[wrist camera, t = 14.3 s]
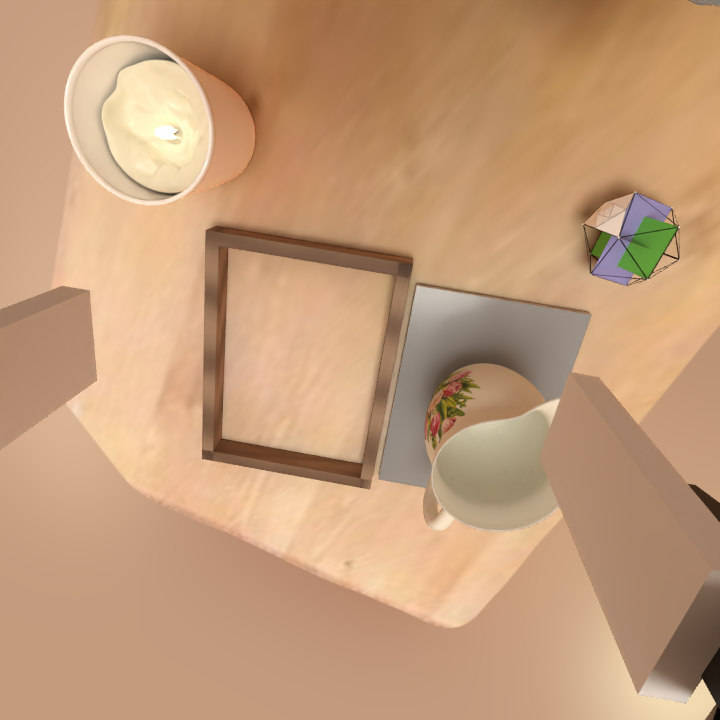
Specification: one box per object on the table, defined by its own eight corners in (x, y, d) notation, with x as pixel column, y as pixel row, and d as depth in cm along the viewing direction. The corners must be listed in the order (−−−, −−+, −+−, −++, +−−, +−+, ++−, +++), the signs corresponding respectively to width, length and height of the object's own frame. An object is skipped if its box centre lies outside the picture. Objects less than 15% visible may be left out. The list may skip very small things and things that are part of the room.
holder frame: (216, 226, 45) (205, 230, 43) (412, 258, 44) (412, 264, 42) (210, 446, 55) (202, 458, 52) (371, 475, 54) (370, 489, 52)
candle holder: (135, 145, 43) (40, 142, 32) (187, 39, 39) (100, -6, 28) (228, 215, 44) (168, 235, 33) (287, 119, 41) (241, 107, 30)
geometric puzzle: (709, 220, 39) (697, 207, 33) (660, 299, 41) (641, 300, 35) (621, 192, 42) (596, 176, 36) (582, 265, 45) (553, 261, 39)
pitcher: (380, 443, 51) (370, 538, 39) (477, 302, 44) (504, 361, 32) (468, 489, 53) (486, 596, 40) (576, 359, 46) (639, 437, 33)
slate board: (416, 283, 45) (416, 285, 44) (588, 312, 45) (591, 314, 44) (379, 474, 54) (378, 479, 53) (522, 500, 53) (523, 505, 53)
